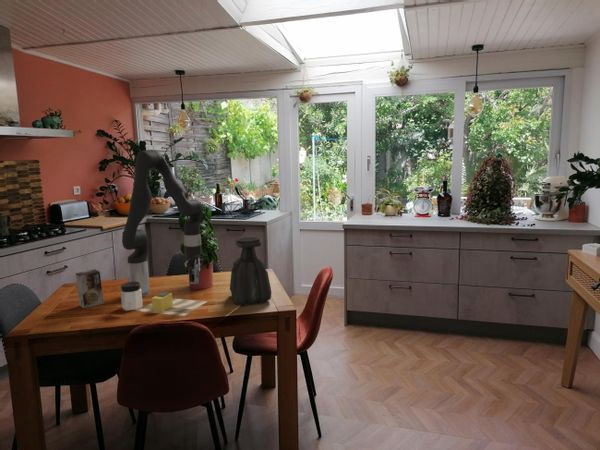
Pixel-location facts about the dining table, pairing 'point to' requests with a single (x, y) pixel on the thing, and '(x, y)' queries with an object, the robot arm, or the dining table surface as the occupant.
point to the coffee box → (89, 288)
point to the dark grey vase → (249, 275)
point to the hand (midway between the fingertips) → (194, 280)
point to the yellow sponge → (162, 302)
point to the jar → (131, 296)
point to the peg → (195, 275)
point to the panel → (177, 307)
